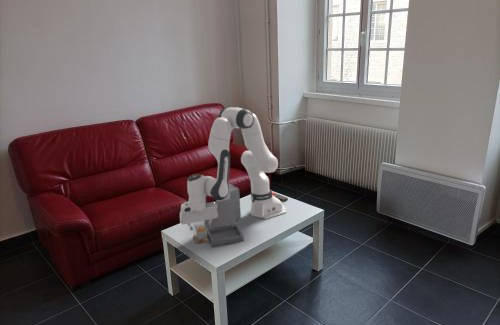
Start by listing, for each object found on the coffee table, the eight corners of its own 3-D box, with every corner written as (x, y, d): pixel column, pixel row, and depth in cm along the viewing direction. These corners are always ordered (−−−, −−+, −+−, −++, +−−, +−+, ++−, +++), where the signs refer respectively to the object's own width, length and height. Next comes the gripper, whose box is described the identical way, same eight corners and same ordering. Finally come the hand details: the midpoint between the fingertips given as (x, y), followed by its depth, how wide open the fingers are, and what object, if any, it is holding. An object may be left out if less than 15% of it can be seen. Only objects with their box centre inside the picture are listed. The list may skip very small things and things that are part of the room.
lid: (236, 223, 205) (235, 223, 206) (232, 198, 206) (232, 198, 207) (206, 229, 201) (206, 228, 202) (202, 203, 202) (202, 203, 203)
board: (206, 233, 203) (205, 232, 202) (209, 241, 195) (209, 239, 194) (193, 236, 201) (193, 234, 201) (196, 244, 193) (196, 242, 192)
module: (204, 233, 201) (203, 220, 198) (206, 239, 195) (205, 225, 193) (195, 235, 199) (194, 222, 197) (197, 240, 194) (196, 227, 191)
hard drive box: (217, 214, 226) (214, 184, 220) (227, 210, 231) (224, 181, 225) (231, 222, 214) (228, 191, 208) (241, 218, 219) (239, 187, 213)
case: (236, 229, 206) (236, 224, 205) (243, 240, 193) (243, 235, 192) (207, 235, 202) (207, 230, 201) (212, 247, 189) (212, 242, 188)
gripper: (215, 199, 197) (217, 222, 201) (177, 205, 192) (180, 228, 196) (218, 203, 191) (220, 227, 196) (179, 210, 186) (182, 234, 190)
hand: (200, 228), depth 196 cm, fingers open, 8 cm apart
